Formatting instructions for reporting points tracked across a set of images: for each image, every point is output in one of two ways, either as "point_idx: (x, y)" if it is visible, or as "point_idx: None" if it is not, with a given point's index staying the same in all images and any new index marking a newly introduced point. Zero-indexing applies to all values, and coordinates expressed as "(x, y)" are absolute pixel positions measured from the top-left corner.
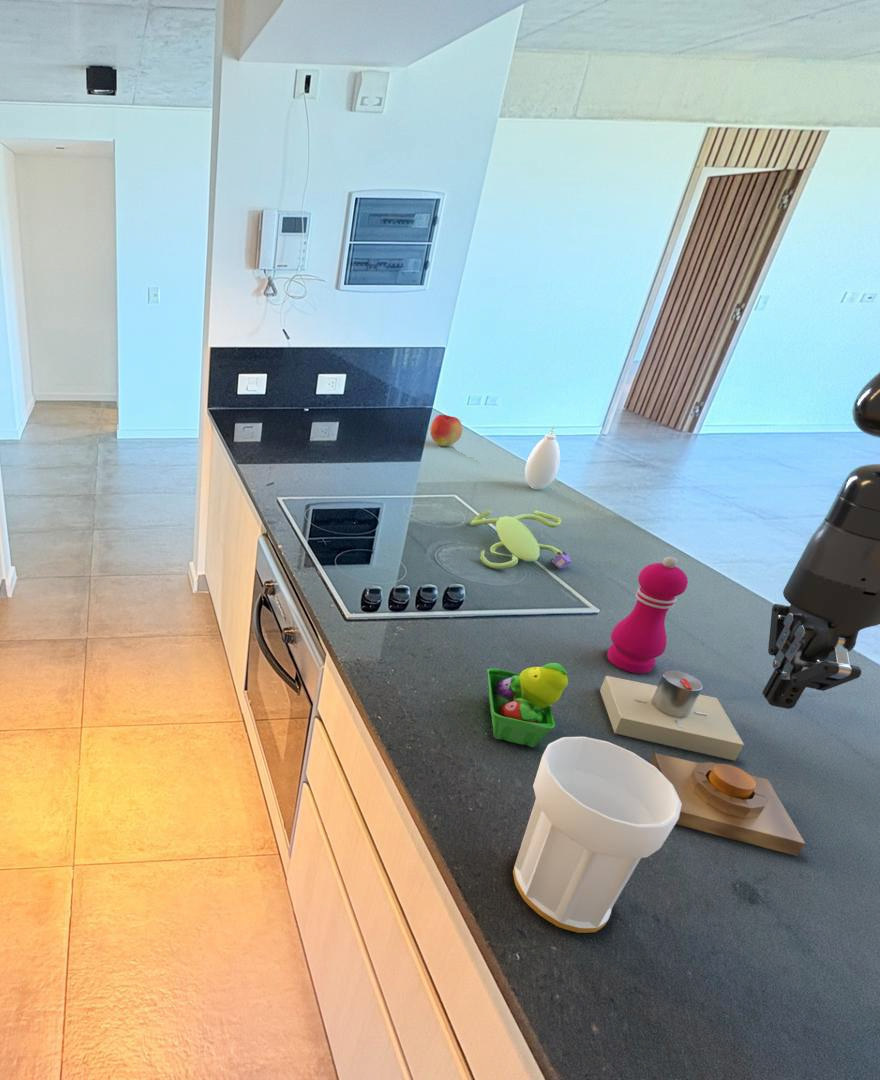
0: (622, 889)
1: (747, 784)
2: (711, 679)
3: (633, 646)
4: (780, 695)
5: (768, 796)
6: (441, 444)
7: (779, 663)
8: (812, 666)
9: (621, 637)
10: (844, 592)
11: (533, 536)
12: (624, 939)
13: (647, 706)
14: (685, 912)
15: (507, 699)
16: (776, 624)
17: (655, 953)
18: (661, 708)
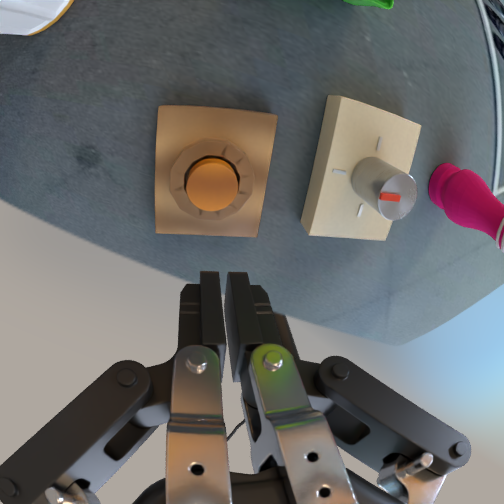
0: (9, 33)
1: (198, 198)
2: (414, 252)
3: (458, 183)
4: (188, 306)
5: (224, 226)
6: None
7: (257, 373)
8: (67, 469)
9: (470, 176)
10: None
11: None
12: (13, 49)
13: (369, 147)
14: (46, 96)
15: None
16: (410, 439)
17: (7, 71)
18: (364, 161)
